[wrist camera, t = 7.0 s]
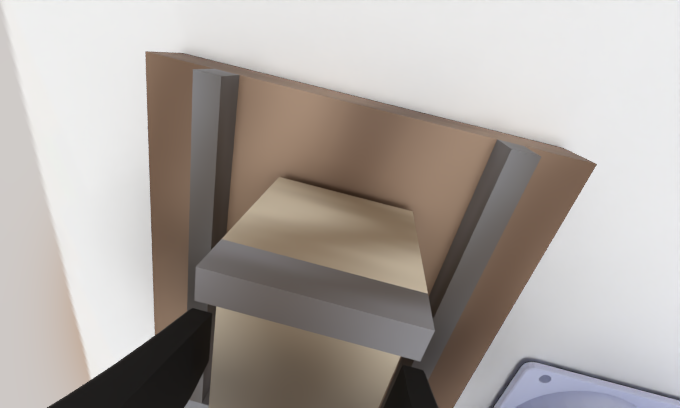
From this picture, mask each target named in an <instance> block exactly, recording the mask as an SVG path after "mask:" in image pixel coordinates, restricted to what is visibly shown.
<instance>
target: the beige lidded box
mask: <svg viewBox="0 0 680 408" xmlns="http://www.w3.org/2000/svg"><path fill="white" fill-rule="evenodd" d="M195 301H198V302H202V303H206V304H209V305H213V306H216V317H215V330H214V343H213V356H212V370H211V383H210V396H209V408H379V405H380V403H381V401H382V398H383V396H384V394H385V391H386V389H387V387H388V384H389V382H390V380H391V378H392V375H393V373H394V371H395V368H396V366H397V364H398V361H399V359H400V357H401V356H402V357H405V358H409V359H413V360H416V361H421V359H422V357H423V355H424V353H425V350H426V348H427V346H428V344H429V342H430V340H431V338H432V336H433V334H434V332H435V329H434V323H433V318H432V313H431V307H430V302H429V297H428V291H427V286H426V280H425V275H424V270H423V264H422V259H421V254H420V248H419V243H418V237H417V232H416V227H415V221H414V216H413V211H409V210H405V209H401V208H397V207H394V206H390V205H386V204H382V203H378V202H374V201H370V200H367V199H363V198H359V197H355V196H351V195H347V194H343V193H340V192H336V191H332V190H328V189H324V188H320V187H316V186H312V185H309V184H305V183H301V182H297V181H293V180H289V179H285V178H282V177H279V178H278V179H277V180H276V181H275V182H274V183H273V184H272V185H271V186H270V187H269V188H268V189H267V190H266V192H265V193H264V194H263V195H262V196H261V197H260V198H259V199H258V200H257V201H256V202H255V203H254V204H253V206H252V207H251V208H250V209H249V210H248V211H247V212H246V213H245V214H244V215H243V216H242V217H241V219H240V220H239V221H238V222H237V223H236V224H235V225H234V226H233V227H232V228H231V229H230V230H229V231H228V233H227V234H226V235H225V236H224V237H223V238H222V239H221V240H220V241H219V242H218V243H217V244H216V245H215V247H214V248H213V249H212V250H211V251H210V252H209V253H208V254H207V255H206V256H205V257H204V258H203V260H202V261H201V262H200V263H199V264H198V265H197V266H196V274H195Z"/></svg>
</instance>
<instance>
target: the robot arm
mask: <svg viewBox="0 0 680 408" xmlns="http://www.w3.org/2000/svg"><path fill="white" fill-rule="evenodd" d="M211 326H212V313H210V312H206V311H202V310H199V309H195V308H191V309H189V310H188V311H187V312H185V313H184V314H183V315H181V316H180V317H179V318H177V319H176V320H175V321H174V322H172V323H171V324H170V325H168V326H167V327H166V328H164V329H163V330H162V331H160V332H159V333H158V334H156V335H155V336H154V337H152V338H151V339H149V340H148V341H147V342H145V343H144V344H143V345H141V346H140V347H138V348H137V349H136V350H134V351H133V352H131V353H130V354H128V355H127V356H126V357H124V358H123V359H121V360H120V361H119V362H117V363H116V364H114V365H113V366H111V367H110V368H108V369H107V370H105V371H104V372H102V373H101V374H99V375H98V376H96V377H95V378H93V379H92V380H90V381H89V382H87V383H86V384H84V385H82V386H81V387H79V388H78V389H76V390H75V391H73V392H72V393H70V394H69V395H67V396H65V397H64V398H62V399H60V400H59V401H57V402H56V403H54V404H52V405H51V406H49V407H47V408H185V406H186V404H187V403H188V401H189V399H190V398H191V396H192V394H193V392H194V390H195V388H196V386H197V384H198V382H199V380H200V378H201V376H202V374H203V372H204V370H205V368H206V366H207V364H208V362H209V355H210V340H211ZM384 408H439V407H438V405H437V402H436V400H435V397H434V395H433V392H432V390H431V387H430V385H429V382H428V379H427V377H426V374H425V372H424V371H423V370H421V369H417V368H414V367H410V366H406V365H402V367H401V369H400V371H399V374H398V376H397V378H396V381H395V383H394V385H393V387H392V390H391V392H390V394H389V396H388V399H387V401H386V403H385V405H384ZM493 408H680V401H679V400H675V399H671V398H667V397H664V396H660V395H656V394H652V393H649V392H645V391H641V390H637V389H634V388H630V387H626V386H622V385H619V384H615V383H611V382H607V381H604V380H600V379H596V378H592V377H589V376H585V375H581V374H578V373H574V372H570V371H566V370H563V369H559V368H555V367H551V366H548V365H544V364H540V363H536V362H527V363H525V364H523V365H522V366H521V367H520V369H519V370H518V372H517V373H516V375H515V376H514V378H513V379H512V381H511V382H510V384H509V385H508V387H507V388H506V390H505V391H504V393H503V394H502V396H501V397H500V399H499V400H498V402H497V403H496V404H495V406H494V407H493Z"/></svg>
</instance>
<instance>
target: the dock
mask: <svg viewBox="0 0 680 408" xmlns="http://www.w3.org/2000/svg"><path fill="white" fill-rule="evenodd" d="M146 81H147V111H148V141H149V171H150V201H151V231H152V261H153V291H154V321H155V335H156V334H158V333H159V332H160V331H162V330H163V329H164V328H166V327H167V326H168V325H170V324H171V323H172V322H174V321H175V320H176V319H177V318H179V317H180V316H181V315H183V314H184V313H185V312H187V311H188V310H189V309H191V308H195V309H199V310H202V311H206V312H210V313H212V326H211V340H210V355H209V362H208V364H207V366H206V368H205V370H204V372H203V374H202V376H201V378H200V380H199V382H198V384H197V386H196V388H195V390H194V392H193V394H192V396H191V398H190V399H189V401H188V403H187V404H186V406H185V408H209V396H210V383H211V370H212V356H213V343H214V330H215V317H216V306H213V305H209V304H206V303H202V302H198V301H195V274H196V266H197V265H198V264H199V263H200V262H201V261H202V260H203V258H204V257H205V256H206V255H207V254H208V253H209V252H210V251H211V250H212V249H213V248H214V247H215V245H216V244H217V243H218V242H219V241H220V240H221V239H222V238H223V237H224V236H225V235H226V234H227V233H228V231H229V230H230V229H231V228H232V227H233V226H234V225H235V224H236V223H237V222H238V221H239V220H240V219H241V217H242V216H243V215H244V214H245V213H246V212H247V211H248V210H249V209H250V208H251V207H252V206H253V204H254V203H255V202H256V201H257V200H258V199H259V198H260V197H261V196H262V195H263V194H264V193H265V192H266V190H267V189H268V188H269V187H270V186H271V185H272V184H273V183H274V182H275V181H276V180H277V179H278V178H279V177H282V178H285V179H289V180H293V181H297V182H301V183H305V184H309V185H312V186H316V187H320V188H324V189H328V190H332V191H336V192H340V193H343V194H347V195H351V196H355V197H359V198H363V199H367V200H370V201H374V202H378V203H382V204H386V205H390V206H394V207H397V208H401V209H405V210H409V211H413V216H414V221H415V227H416V232H417V237H418V243H419V248H420V254H421V259H422V264H423V270H424V275H425V280H426V286H427V291H428V297H429V302H430V307H431V313H432V318H433V323H434V329H435V332H434V334H433V336H432V338H431V340H430V342H429V344H428V346H427V348H426V350H425V353H424V355H423V357H422V359H421V361H416V360H413V359H409V358H405V357H402V356H401V357H400V359H399V361H398V364H397V366H396V368H395V371H394V373H393V375H392V378H391V380H390V382H389V384H388V387H387V389H386V391H385V394H384V396H383V398H382V401H381V403H380V405H379V408H384V405H385V403H386V401H387V399H388V396H389V394H390V392H391V390H392V387H393V385H394V383H395V381H396V378H397V376H398V374H399V371H400V369H401V367H402V365H406V366H410V367H414V368H417V369H421V370H423V371H424V372H425V374H426V377H427V379H428V382H429V385H430V387H431V390H432V392H433V395H434V397H435V400H436V402H437V405H438V407H439V408H453V407H454V406H455V404H456V402H457V400H458V399H459V397H460V395H461V394H462V392H463V390H464V389H465V387H466V385H467V383H468V382H469V380H470V378H471V377H472V375H473V373H474V372H475V370H476V368H477V367H478V365H479V363H480V361H481V360H482V358H483V356H484V355H485V353H486V351H487V350H488V348H489V346H490V344H491V343H492V341H493V339H494V338H495V336H496V334H497V333H498V331H499V329H500V328H501V326H502V324H503V322H504V321H505V319H506V317H507V316H508V314H509V312H510V311H511V309H512V307H513V305H514V304H515V302H516V300H517V299H518V297H519V295H520V294H521V292H522V290H523V289H524V287H525V285H526V283H527V282H528V280H529V278H530V277H531V275H532V273H533V272H534V270H535V268H536V266H537V265H538V263H539V261H540V260H541V258H542V256H543V255H544V253H545V251H546V250H547V248H548V246H549V244H550V243H551V241H552V239H553V238H554V236H555V234H556V233H557V231H558V229H559V227H560V226H561V224H562V222H563V221H564V219H565V217H566V216H567V214H568V212H569V211H570V209H571V207H572V205H573V204H574V202H575V200H576V199H577V197H578V195H579V194H580V192H581V190H582V188H583V187H584V185H585V183H586V182H587V180H588V178H589V177H590V175H591V173H592V172H593V170H594V168H595V166H596V165H597V164H595V163H593V162H591V161H589V160H587V159H585V158H583V157H581V156H579V155H577V154H575V153H572V152H570V151H568V150H566V149H564V148H561V147H557V146H553V145H549V144H545V143H541V142H537V141H533V140H529V139H525V138H521V137H517V136H513V135H509V134H505V133H501V132H497V131H493V130H489V129H485V128H481V127H477V126H473V125H469V124H465V123H461V122H457V121H453V120H449V119H445V118H441V117H437V116H433V115H429V114H425V113H421V112H417V111H413V110H409V109H405V108H401V107H397V106H393V105H389V104H385V103H381V102H377V101H373V100H369V99H365V98H361V97H357V96H353V95H349V94H345V93H341V92H336V91H332V90H328V89H324V88H320V87H316V86H312V85H308V84H304V83H300V82H296V81H292V80H288V79H284V78H280V77H276V76H272V75H268V74H264V73H260V72H256V71H252V70H248V69H244V68H240V67H236V66H232V65H228V64H224V63H220V62H216V61H212V60H208V59H204V58H200V57H196V56H192V55H188V54H184V53H168V52H146Z"/></svg>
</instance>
